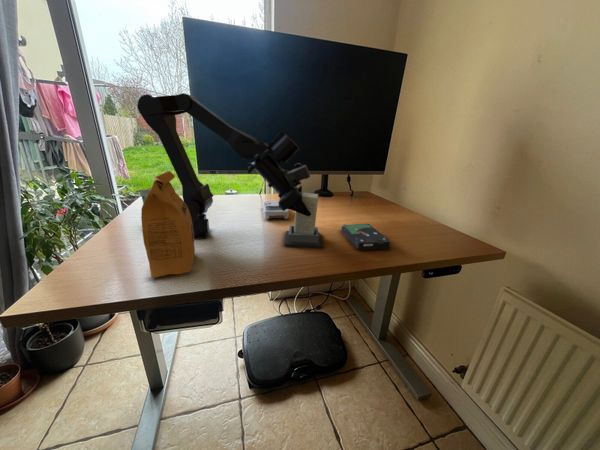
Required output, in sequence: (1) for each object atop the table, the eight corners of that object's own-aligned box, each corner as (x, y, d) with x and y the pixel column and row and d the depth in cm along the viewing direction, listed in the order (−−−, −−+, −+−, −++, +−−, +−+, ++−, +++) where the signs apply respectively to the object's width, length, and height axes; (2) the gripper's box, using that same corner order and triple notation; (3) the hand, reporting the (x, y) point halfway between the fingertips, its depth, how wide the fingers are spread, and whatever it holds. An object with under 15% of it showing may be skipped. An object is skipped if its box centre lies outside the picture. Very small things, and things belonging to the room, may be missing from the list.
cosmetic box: (314, 230, 77) (319, 194, 72) (313, 236, 73) (318, 197, 68) (294, 227, 77) (298, 190, 73) (292, 233, 73) (296, 194, 69)
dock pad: (321, 248, 71) (322, 237, 70) (284, 246, 71) (285, 236, 70) (319, 234, 81) (320, 225, 79) (286, 232, 80) (286, 223, 79)
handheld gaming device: (283, 208, 105) (283, 200, 104) (288, 220, 92) (288, 210, 90) (262, 209, 103) (262, 200, 102) (265, 221, 90) (264, 211, 88)
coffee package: (201, 251, 65) (192, 169, 57) (193, 277, 54) (180, 180, 46) (161, 253, 63) (146, 169, 55) (143, 281, 52) (121, 179, 44)
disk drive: (389, 249, 73) (367, 230, 86) (391, 241, 72) (368, 222, 85) (358, 251, 71) (340, 231, 84) (359, 242, 70) (341, 223, 83)
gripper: (293, 158, 57) (334, 204, 62) (295, 151, 75) (327, 188, 79) (260, 188, 60) (302, 231, 64) (269, 175, 78) (302, 209, 82)
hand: (309, 212), depth 72 cm, fingers closed on cosmetic box, 4 cm apart
